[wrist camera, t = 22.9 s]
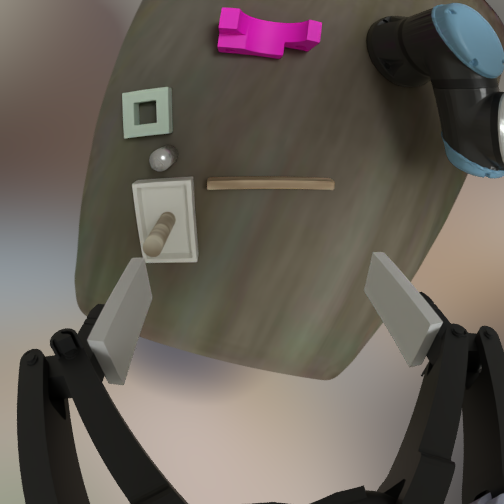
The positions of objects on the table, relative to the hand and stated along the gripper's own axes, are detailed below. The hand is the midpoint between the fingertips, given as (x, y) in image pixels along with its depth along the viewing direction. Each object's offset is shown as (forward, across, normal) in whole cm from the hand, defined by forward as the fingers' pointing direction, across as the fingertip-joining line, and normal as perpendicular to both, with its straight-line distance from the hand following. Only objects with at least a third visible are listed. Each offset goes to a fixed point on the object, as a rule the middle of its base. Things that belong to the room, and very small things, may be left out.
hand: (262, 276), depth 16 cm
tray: (+37, -14, -10) cm, 41 cm away
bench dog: (+37, -13, +2) cm, 39 cm away
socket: (+37, -16, +10) cm, 41 cm away
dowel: (+36, -14, -10) cm, 40 cm away
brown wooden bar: (+37, +5, -3) cm, 37 cm away
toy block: (+37, +4, +22) cm, 44 cm away
